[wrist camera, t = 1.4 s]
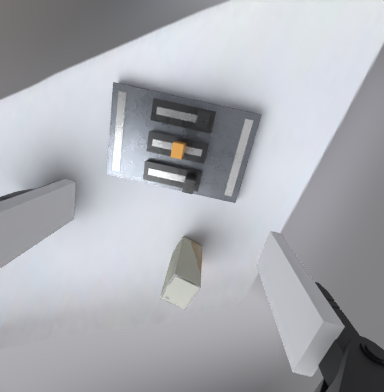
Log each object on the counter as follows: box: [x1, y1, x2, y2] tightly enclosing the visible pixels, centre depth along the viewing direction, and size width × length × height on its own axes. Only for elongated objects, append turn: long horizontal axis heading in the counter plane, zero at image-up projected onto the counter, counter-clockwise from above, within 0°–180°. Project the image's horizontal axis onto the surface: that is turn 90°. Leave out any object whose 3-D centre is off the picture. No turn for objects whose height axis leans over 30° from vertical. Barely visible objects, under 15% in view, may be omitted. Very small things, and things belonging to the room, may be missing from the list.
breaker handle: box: [170, 141, 186, 159], centre depth 29 cm, size 2×2×3 cm
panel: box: [107, 82, 261, 203], centre depth 31 cm, size 14×22×6 cm, turn 78°
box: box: [160, 237, 202, 310], centre depth 35 cm, size 5×4×11 cm
